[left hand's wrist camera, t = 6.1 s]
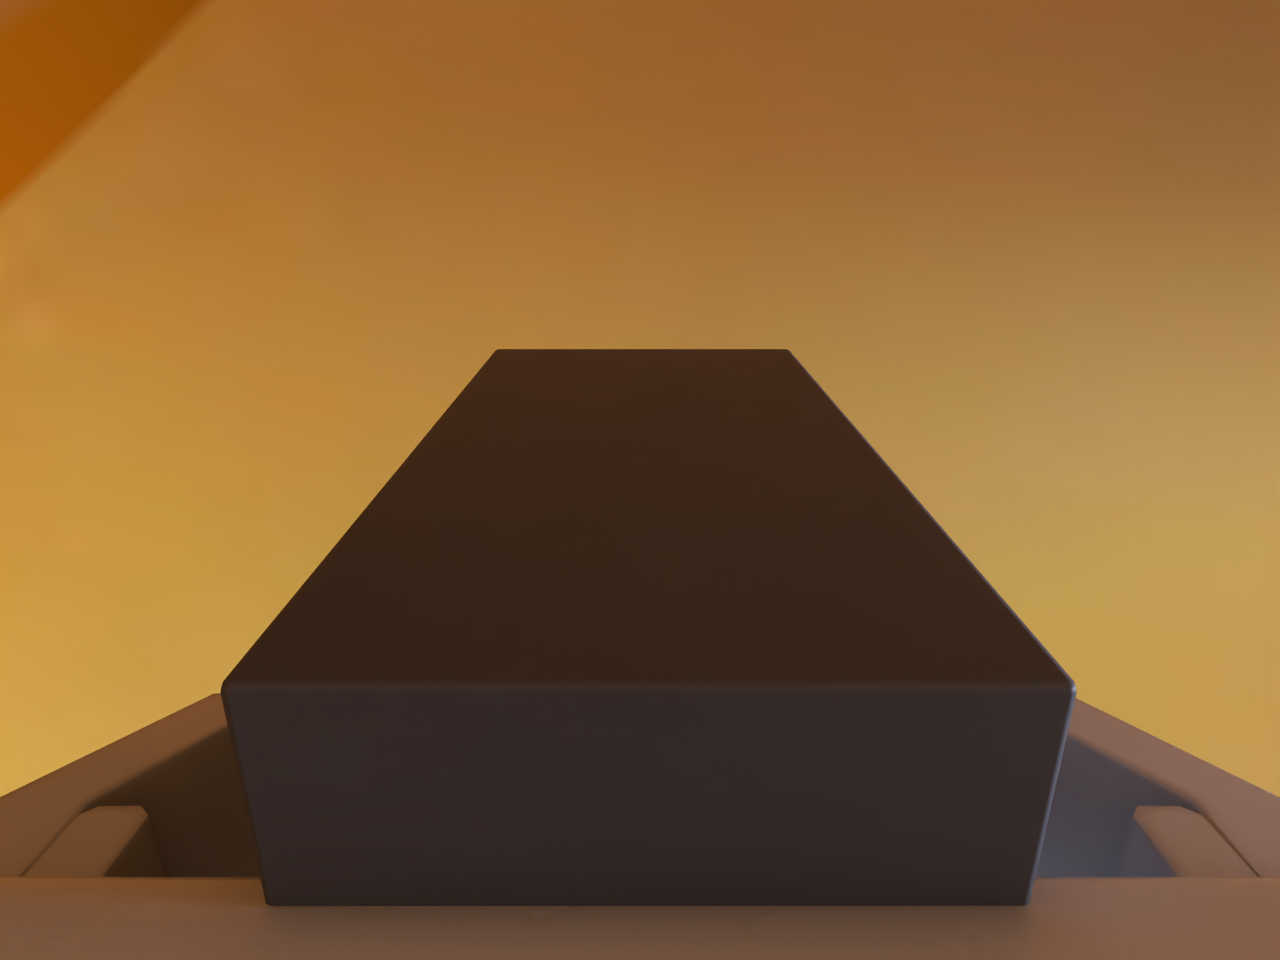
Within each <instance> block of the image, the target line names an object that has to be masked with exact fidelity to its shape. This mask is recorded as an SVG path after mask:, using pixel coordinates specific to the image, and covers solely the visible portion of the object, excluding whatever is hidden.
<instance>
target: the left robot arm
mask: <svg viewBox="0 0 1280 960" xmlns="http://www.w3.org/2000/svg"><path fill="white" fill-rule="evenodd" d="M0 960H1280V797H1277V796H1275V795H1273V794H1271V793H1269V792H1267V791H1265V790H1263V789H1261V788H1259V787H1257V786H1255V785H1253V784H1251V783H1249V782H1247V781H1245V780H1243V779H1241V778H1238V777H1236V776H1234V775H1232V774H1230V773H1228V772H1226V771H1224V770H1222V769H1220V768H1218V767H1216V766H1214V765H1212V764H1210V763H1208V762H1206V761H1204V760H1202V759H1199V758H1197V757H1195V756H1193V755H1191V754H1189V753H1187V752H1185V751H1183V750H1181V749H1179V748H1177V747H1175V746H1173V745H1171V744H1169V743H1167V742H1165V741H1163V740H1160V739H1158V738H1156V737H1154V736H1152V735H1150V734H1148V733H1146V732H1144V731H1142V730H1140V729H1138V728H1136V727H1134V726H1132V725H1130V724H1128V723H1126V722H1123V721H1121V720H1119V719H1117V718H1115V717H1113V716H1111V715H1109V714H1107V713H1105V712H1103V711H1101V710H1099V709H1097V708H1095V707H1093V706H1091V705H1089V704H1087V703H1084V702H1082V701H1080V700H1078V699H1076V698H1075V702H1074V706H1073V711H1072V715H1071V720H1070V724H1069V728H1068V733H1067V737H1066V742H1065V746H1064V751H1063V755H1062V760H1061V764H1060V769H1059V773H1058V778H1057V782H1056V786H1055V791H1054V795H1053V800H1052V804H1051V809H1050V813H1049V818H1048V822H1047V827H1046V831H1045V836H1044V840H1043V844H1042V849H1041V853H1040V858H1039V862H1038V867H1037V871H1036V876H1035V880H1034V885H1033V889H1032V894H1031V898H1030V902H1029V904H1027V905H1024V906H270V905H267V904H266V902H265V898H264V893H263V888H262V884H261V879H260V874H259V870H258V865H257V860H256V856H255V851H254V846H253V842H252V837H251V832H250V828H249V823H248V819H247V814H246V809H245V805H244V800H243V795H242V791H241V786H240V781H239V777H238V772H237V767H236V763H235V758H234V753H233V749H232V744H231V740H230V735H229V730H228V726H227V721H226V716H225V712H224V707H223V702H222V698H221V694H212V695H210V696H208V697H206V698H204V699H202V700H200V701H198V702H196V703H194V704H191V705H189V706H187V707H185V708H183V709H181V710H179V711H177V712H175V713H173V714H171V715H169V716H167V717H165V718H163V719H161V720H159V721H156V722H154V723H152V724H150V725H148V726H146V727H144V728H142V729H140V730H138V731H136V732H134V733H132V734H130V735H128V736H126V737H124V738H121V739H119V740H117V741H115V742H113V743H111V744H109V745H107V746H105V747H103V748H101V749H99V750H97V751H95V752H93V753H91V754H89V755H86V756H84V757H82V758H80V759H78V760H76V761H74V762H72V763H70V764H68V765H66V766H64V767H62V768H60V769H58V770H56V771H53V772H51V773H49V774H47V775H45V776H43V777H41V778H39V779H37V780H35V781H33V782H31V783H29V784H27V785H25V786H23V787H21V788H18V789H16V790H14V791H12V792H10V793H8V794H6V795H4V796H2V797H0Z"/></svg>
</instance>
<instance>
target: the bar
mask: <svg viewBox="0 0 1280 960" xmlns="http://www.w3.org/2000/svg"><path fill="white" fill-rule="evenodd" d="M1075 697H1076V687H1075V684H1074V681H1073V680H1072V679H1071V678H1070V676H1069V675H1068V674H1067V673H1066V672H1065V671H1064V669H1063V668H1062V667H1061V666H1060V665H1059V664H1058V662H1057V661H1056V660H1055V659H1054V658H1053V657H1052V655H1051V654H1050V653H1049V652H1048V651H1047V650H1046V649H1045V647H1044V646H1043V645H1042V644H1041V643H1040V642H1039V640H1038V639H1037V638H1036V637H1035V636H1034V635H1033V633H1032V632H1031V631H1030V630H1029V629H1028V628H1027V626H1026V625H1025V624H1024V623H1023V622H1022V621H1021V619H1020V618H1019V617H1018V616H1017V615H1016V614H1015V612H1014V611H1013V610H1012V609H1011V608H1010V607H1009V605H1008V604H1007V603H1006V602H1005V601H1004V600H1003V598H1002V597H1001V596H1000V595H999V594H998V593H997V592H996V590H995V589H994V588H993V587H992V586H991V585H990V583H989V582H988V581H987V580H986V579H985V578H984V576H983V575H982V574H981V573H980V572H979V571H978V569H977V568H976V567H975V566H974V565H973V564H972V562H971V561H970V560H969V559H968V558H967V557H966V555H965V554H964V553H963V552H962V551H961V550H960V548H959V547H958V546H957V545H956V544H955V543H954V542H953V540H952V539H951V538H950V537H949V536H948V535H947V533H946V532H945V531H944V530H943V529H942V528H941V526H940V525H939V524H938V523H937V522H936V521H935V519H934V518H933V517H932V516H931V515H930V514H929V512H928V511H927V510H926V509H925V508H924V507H923V505H922V504H921V503H920V502H919V501H918V500H917V498H916V497H915V496H914V495H913V494H912V493H911V491H910V490H909V489H908V488H907V487H906V486H905V485H904V483H903V482H902V481H901V480H900V479H899V478H898V476H897V475H896V474H895V473H894V472H893V471H892V469H891V468H890V467H889V466H888V465H887V464H886V462H885V461H884V460H883V459H882V458H881V457H880V455H879V454H878V453H877V452H876V451H875V450H874V448H873V447H872V446H871V445H870V444H869V443H868V441H867V440H866V439H865V438H864V437H863V436H862V434H861V433H860V432H859V431H858V430H857V429H856V428H855V426H854V425H853V424H852V423H851V422H850V421H849V419H848V418H847V417H846V416H845V415H844V414H843V412H842V411H841V410H840V409H839V408H838V407H837V405H836V404H835V403H834V402H833V401H832V400H831V398H830V397H829V396H828V395H827V394H826V393H825V391H824V390H823V389H822V388H821V387H820V386H819V384H818V383H817V382H816V381H815V380H814V379H813V378H812V376H811V375H810V374H809V373H808V372H807V371H806V369H805V368H804V367H803V366H802V365H801V364H800V362H799V361H798V360H797V359H796V358H795V357H794V355H793V354H792V353H791V352H790V351H789V350H787V349H498V350H496V351H495V352H494V353H493V354H492V356H491V357H490V358H489V359H488V361H487V362H486V363H485V364H484V365H483V367H482V368H481V369H480V370H479V371H478V373H477V374H476V375H475V376H474V378H473V379H472V380H471V381H470V382H469V384H468V385H467V386H466V387H465V388H464V390H463V391H462V392H461V393H460V395H459V396H458V397H457V398H456V399H455V401H454V402H453V403H452V404H451V405H450V407H449V408H448V409H447V410H446V412H445V413H444V414H443V415H442V416H441V418H440V419H439V420H438V421H437V422H436V424H435V425H434V426H433V427H432V429H431V430H430V431H429V432H428V433H427V435H426V436H425V437H424V438H423V439H422V441H421V442H420V443H419V444H418V446H417V447H416V448H415V449H414V450H413V452H412V453H411V454H410V455H409V456H408V458H407V459H406V460H405V461H404V463H403V464H402V465H401V466H400V467H399V469H398V470H397V471H396V472H395V474H394V475H393V476H392V477H391V478H390V480H389V481H388V482H387V483H386V484H385V486H384V487H383V488H382V489H381V491H380V492H379V493H378V494H377V495H376V497H375V498H374V499H373V500H372V501H371V503H370V504H369V505H368V506H367V508H366V509H365V510H364V511H363V512H362V514H361V515H360V516H359V517H358V518H357V520H356V521H355V522H354V523H353V525H352V526H351V527H350V528H349V529H348V531H347V532H346V533H345V534H344V535H343V537H342V538H341V539H340V540H339V542H338V543H337V544H336V545H335V546H334V548H333V549H332V550H331V551H330V552H329V554H328V555H327V556H326V557H325V559H324V560H323V561H322V562H321V563H320V565H319V566H318V567H317V568H316V569H315V571H314V572H313V573H312V574H311V576H310V577H309V578H308V579H307V580H306V582H305V583H304V584H303V585H302V586H301V588H300V589H299V590H298V591H297V593H296V594H295V595H294V596H293V597H292V599H291V600H290V601H289V602H288V603H287V605H286V606H285V607H284V608H283V610H282V611H281V612H280V613H279V614H278V616H277V617H276V618H275V619H274V620H273V622H272V623H271V624H270V625H269V627H268V628H267V629H266V630H265V631H264V633H263V634H262V635H261V636H260V638H259V639H258V640H257V641H256V642H255V644H254V645H253V646H252V647H251V648H250V650H249V651H248V652H247V653H246V655H245V656H244V657H243V658H242V659H241V661H240V662H239V663H238V664H237V665H236V667H235V668H234V669H233V670H232V672H231V673H230V674H229V675H228V676H227V678H226V679H225V680H224V681H223V684H222V687H221V698H222V702H223V707H224V712H225V716H226V721H227V726H228V730H229V735H230V740H231V744H232V749H233V753H234V758H235V763H236V767H237V772H238V777H239V781H240V786H241V791H242V795H243V800H244V805H245V809H246V814H247V819H248V823H249V828H250V832H251V837H252V842H253V846H254V851H255V856H256V860H257V865H258V870H259V874H260V879H261V884H262V888H263V893H264V898H265V902H266V904H267V905H270V906H1024V905H1027V904H1029V902H1030V898H1031V894H1032V889H1033V885H1034V880H1035V876H1036V871H1037V867H1038V862H1039V858H1040V853H1041V849H1042V844H1043V840H1044V836H1045V831H1046V827H1047V822H1048V818H1049V813H1050V809H1051V804H1052V800H1053V795H1054V791H1055V786H1056V782H1057V778H1058V773H1059V769H1060V764H1061V760H1062V755H1063V751H1064V746H1065V742H1066V737H1067V733H1068V728H1069V724H1070V720H1071V715H1072V711H1073V706H1074V702H1075Z"/></svg>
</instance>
